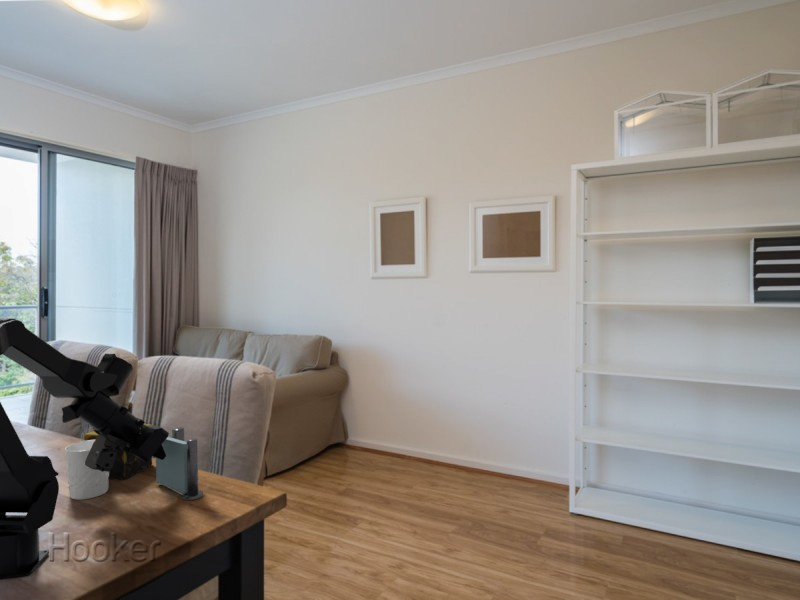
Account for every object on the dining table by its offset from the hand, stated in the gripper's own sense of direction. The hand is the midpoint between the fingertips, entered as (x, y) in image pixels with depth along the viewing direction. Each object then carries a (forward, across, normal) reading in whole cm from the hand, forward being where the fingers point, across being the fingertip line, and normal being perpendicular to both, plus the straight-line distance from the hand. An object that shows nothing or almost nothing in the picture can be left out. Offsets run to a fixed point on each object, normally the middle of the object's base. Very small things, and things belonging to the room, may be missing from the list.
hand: (163, 457), depth 103 cm
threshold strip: (+7, 0, -3) cm, 7 cm away
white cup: (-2, -11, -12) cm, 17 cm away
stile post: (+8, -3, -2) cm, 9 cm away
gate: (+6, 0, -3) cm, 7 cm away
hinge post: (+7, +7, -3) cm, 10 cm away
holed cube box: (+4, -20, -6) cm, 21 cm away
